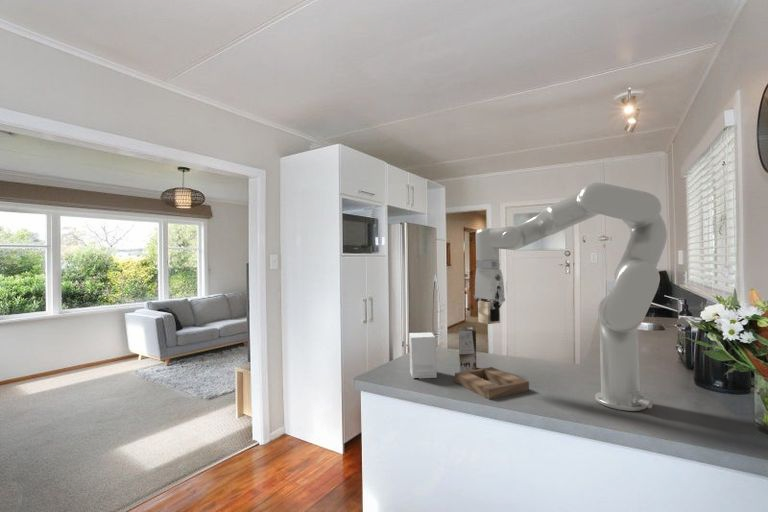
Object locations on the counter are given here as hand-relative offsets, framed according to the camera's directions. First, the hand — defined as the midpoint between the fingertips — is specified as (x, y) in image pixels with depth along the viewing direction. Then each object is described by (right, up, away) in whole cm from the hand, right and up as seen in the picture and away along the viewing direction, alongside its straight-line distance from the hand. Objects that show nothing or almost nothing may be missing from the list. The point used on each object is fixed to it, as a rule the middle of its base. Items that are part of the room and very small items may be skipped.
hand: (489, 319), depth 125 cm
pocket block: (0, -22, 0) cm, 22 cm away
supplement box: (-21, -23, +14) cm, 34 cm away
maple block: (0, -1, 0) cm, 1 cm away
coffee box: (-3, -23, +18) cm, 29 cm away
